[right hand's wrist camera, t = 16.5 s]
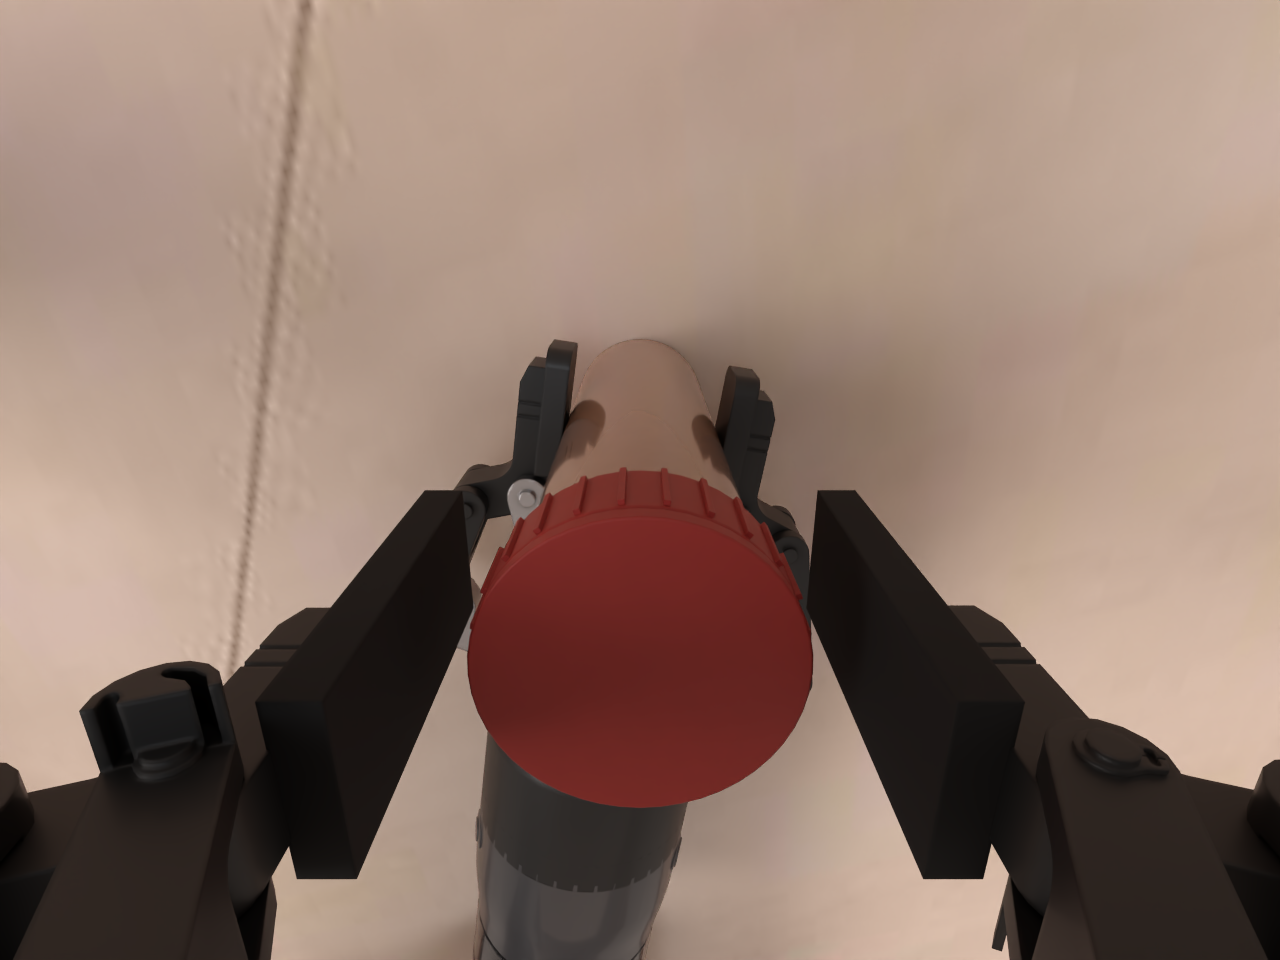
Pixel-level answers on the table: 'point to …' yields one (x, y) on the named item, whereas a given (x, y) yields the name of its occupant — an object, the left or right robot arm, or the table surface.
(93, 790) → the right robot arm
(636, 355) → the jar
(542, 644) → the lid
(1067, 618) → the table surface
